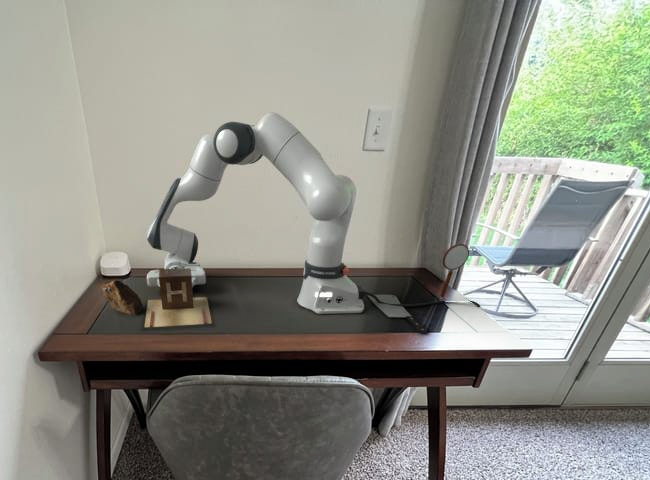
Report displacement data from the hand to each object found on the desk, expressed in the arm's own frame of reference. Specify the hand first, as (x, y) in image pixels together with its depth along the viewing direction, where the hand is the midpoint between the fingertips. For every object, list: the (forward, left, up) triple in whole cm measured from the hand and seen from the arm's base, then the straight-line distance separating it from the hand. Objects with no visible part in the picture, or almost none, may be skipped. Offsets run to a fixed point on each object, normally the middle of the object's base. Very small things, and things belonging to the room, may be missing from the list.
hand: (176, 285), depth 118 cm
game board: (-2, +8, -6) cm, 10 cm away
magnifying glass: (-92, -14, -6) cm, 93 cm away
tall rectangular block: (-1, +4, -5) cm, 6 cm away
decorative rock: (+15, +10, -6) cm, 19 cm away
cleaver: (-73, -1, -6) cm, 73 cm away
